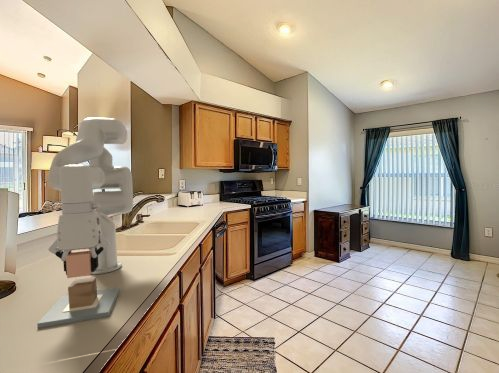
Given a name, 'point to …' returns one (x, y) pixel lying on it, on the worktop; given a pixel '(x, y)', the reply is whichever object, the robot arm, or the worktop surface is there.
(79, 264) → the terracotta block
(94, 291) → the walnut block
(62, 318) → the baseplate
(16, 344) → the worktop surface
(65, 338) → the worktop surface
